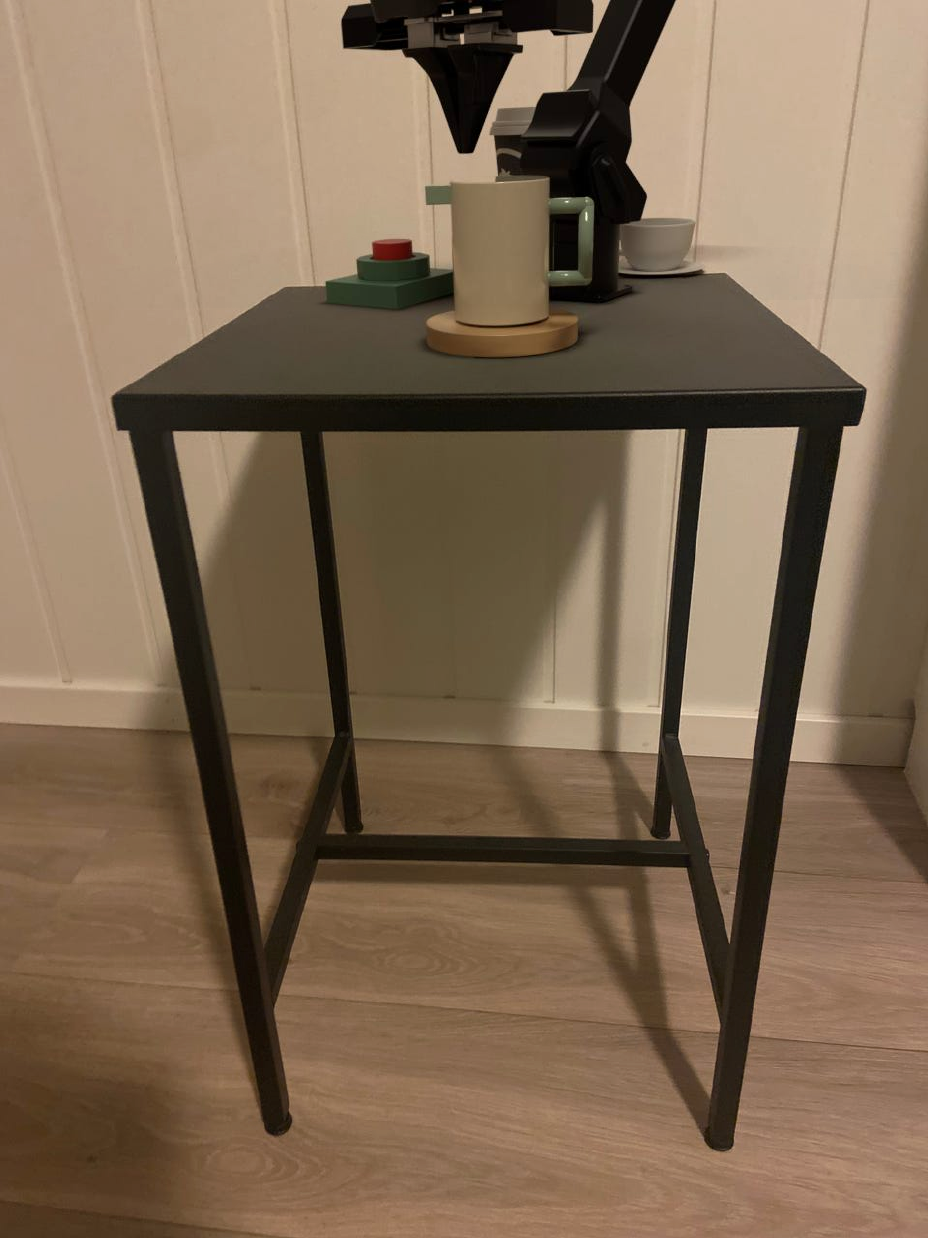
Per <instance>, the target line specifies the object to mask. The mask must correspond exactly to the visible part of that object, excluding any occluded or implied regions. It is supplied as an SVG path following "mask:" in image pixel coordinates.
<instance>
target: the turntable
mask: <svg viewBox="0 0 928 1238" xmlns="http://www.w3.org/2000/svg"><path fill="white" fill-rule="evenodd" d="M425 332H426V333H425V334H426V335H425V336H426V345H427V346H428V347H429V348H430V349H432V350H434V351H436V352H439V353H442V354H449V355H452V356H453V355H454V356H461V357H472V358H494V359H495V358H518V357H529V356H536V355H537V356H538V355H543V354H549V353H554V352H557V351H562V350H564V349H568V348H570V347H572V346H574V345H575V344H576V343H577V341H578V340H579V317H578V315H576V314H575V313H573V312H571V311H568V310H564V309H560V308H555V307H549V316H548V317H547V318H545V319H543V320H540V321H536V322H532V323H526V324H518V325H502V326H488V325H474V324H467V323H463V322H460V321H457V320H456V319H455V311H454V310H450V311H445V312H442V313H439V314H436V315H433V316H431V317H429V318H428V319H427V320H426V321H425Z"/></svg>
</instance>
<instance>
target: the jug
mask: <svg viewBox="0 0 928 1238" xmlns="http://www.w3.org/2000/svg"><path fill="white" fill-rule="evenodd" d="M424 191H425V192H424V193H425V205H426V206H434V205H435V206H436V205H450V228H451V229H450V231H451V232H450V233H451V257H452V269H453V285H454V293H453V304H454V305H453V306H454V310H453V311H455V319H456V320H457V321H460V322H463V323H467V324H474V325H488V326H502V325H518V324H526V323H532V322H536V321H540V320H543V319H545V318H547V317H548V316H549V308H550V298H549V288H550V287H553V286H578V285H588V284H589V283H590V282H591V280H592V261H593V225H594V202H593V200H592V199H591V198H589V197H575V198H550V178H549V177H546V176H498V175H496V176H495V175H494V176H493V175H492V176H477V177H465V178H455V179H452V180H450V181H449V182H447V183H446V182H443V183H427V184H426V185H425V186H424ZM575 213H579V242H578V270H575V271H549V249H550V214H575Z"/></svg>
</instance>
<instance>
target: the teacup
mask: <svg viewBox="0 0 928 1238" xmlns="http://www.w3.org/2000/svg"><path fill="white" fill-rule="evenodd" d="M695 227H696V220H694V219H691V218H684V217H683V218H682V217H644V218H643V217H642V218H641V220H640V221H636V222H631V223H630V224H620V248H619V257H620V256H621V257H624V258H625V261H619V270H618V274H619V273H620V274H625V275H640V276H641V275H642V276H661V275H676V274H677V275H678V274H686V273H693V272H698V271H700V270H702V269H705V268H706V265H705V264H703V263H701V262H697V261H691V260H685V259H686V257H687V255H688V253H689V252H690V250H691V247H692V243H693V238H694V232H695V229H696V228H695Z"/></svg>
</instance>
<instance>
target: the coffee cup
mask: <svg viewBox="0 0 928 1238" xmlns="http://www.w3.org/2000/svg"><path fill="white" fill-rule="evenodd" d="M535 108H536V106H525V107H524V106H523V107H502V108H497V111H496V116H495V121H492V122H491V126H490V127H489V134H488V135H489V136H493V140H494V149H495V158H496V159H495V160H496V171H497V176H523V175H522V170H520V157H521V154H522V150H523V147H524V145H525V143H526V141H521V140H520V137H521V136H522V135H523V134H524V133H525V132H526V131H527V129H528V127H529V125H530V123H531V121H532V118H533V115H534V112H535ZM554 221H556V220H550V249H549V271H553V230H554Z"/></svg>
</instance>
